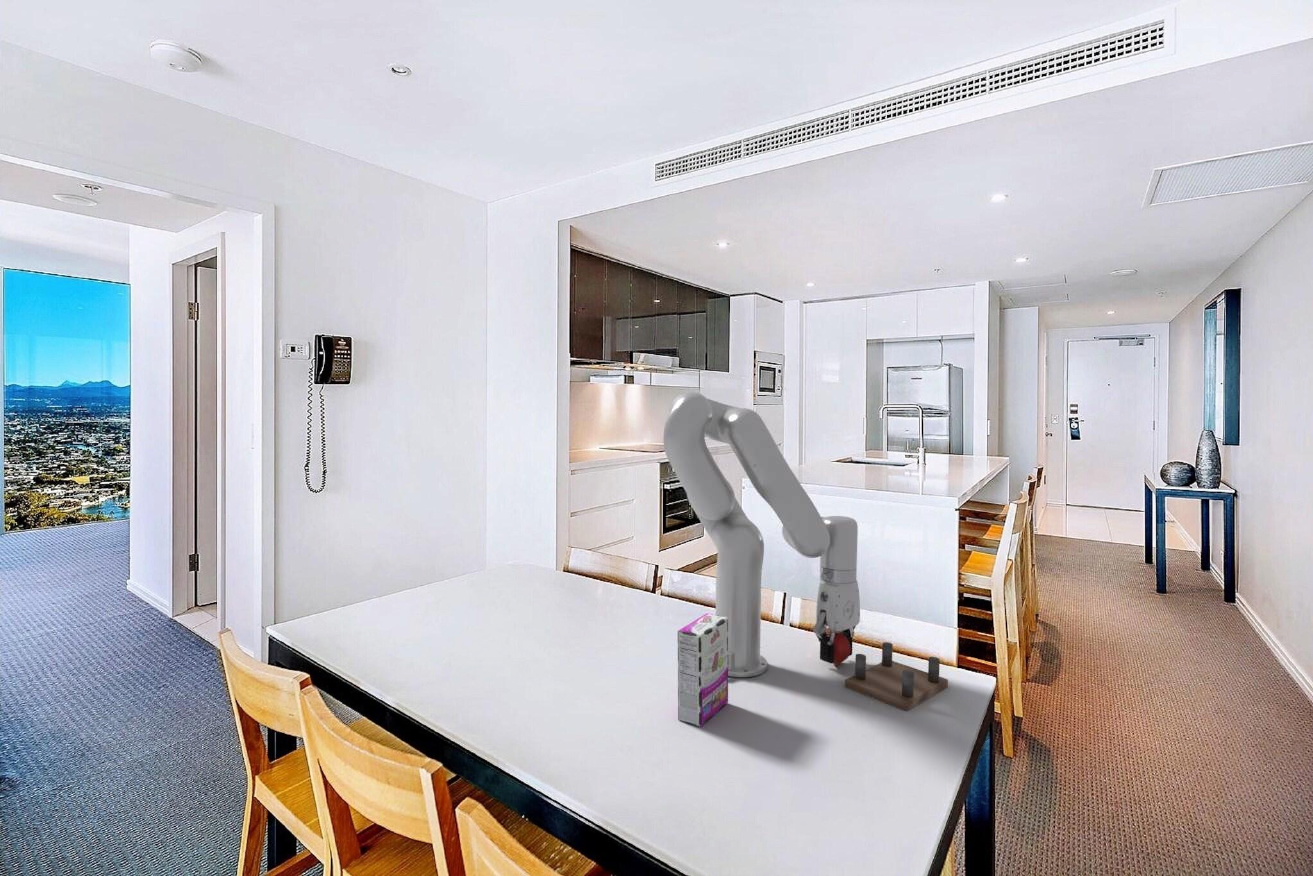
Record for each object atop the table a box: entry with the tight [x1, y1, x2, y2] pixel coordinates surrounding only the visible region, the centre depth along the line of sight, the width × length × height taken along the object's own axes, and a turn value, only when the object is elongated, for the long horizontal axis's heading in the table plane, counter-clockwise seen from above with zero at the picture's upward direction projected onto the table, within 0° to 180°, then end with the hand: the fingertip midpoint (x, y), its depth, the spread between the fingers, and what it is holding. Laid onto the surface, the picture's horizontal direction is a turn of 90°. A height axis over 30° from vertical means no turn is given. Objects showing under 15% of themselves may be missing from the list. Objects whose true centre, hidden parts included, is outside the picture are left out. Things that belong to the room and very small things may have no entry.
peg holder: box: [844, 641, 949, 712], centre depth 127 cm, size 16×13×6 cm
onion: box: [827, 632, 851, 666], centre depth 138 cm, size 6×6×8 cm
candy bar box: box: [677, 613, 729, 728], centre depth 116 cm, size 11×5×16 cm, turn 148°
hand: (836, 656), depth 138 cm, fingers closed on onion, 5 cm apart
